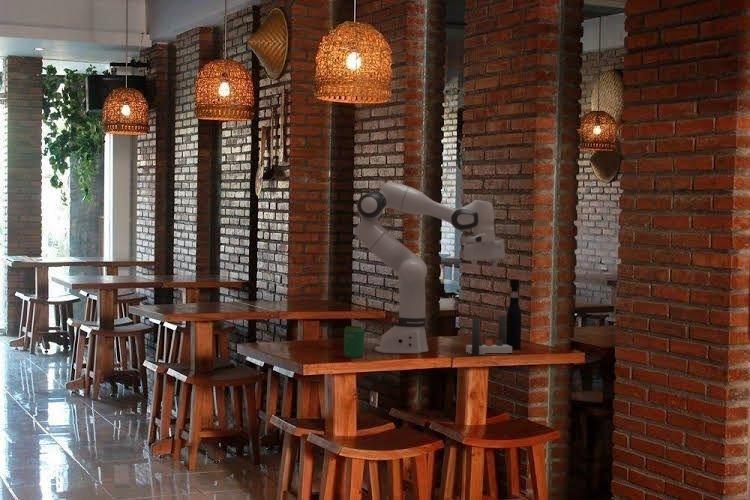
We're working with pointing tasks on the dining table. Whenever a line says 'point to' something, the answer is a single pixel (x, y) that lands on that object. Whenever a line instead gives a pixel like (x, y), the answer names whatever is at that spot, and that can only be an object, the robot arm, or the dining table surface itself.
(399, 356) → the dining table surface
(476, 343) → the dark grey tall bar
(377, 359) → the dining table surface
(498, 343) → the breaker paddles
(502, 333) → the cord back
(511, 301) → the wine bottle
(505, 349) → the breaker box
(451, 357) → the dining table surface
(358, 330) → the beverage can
